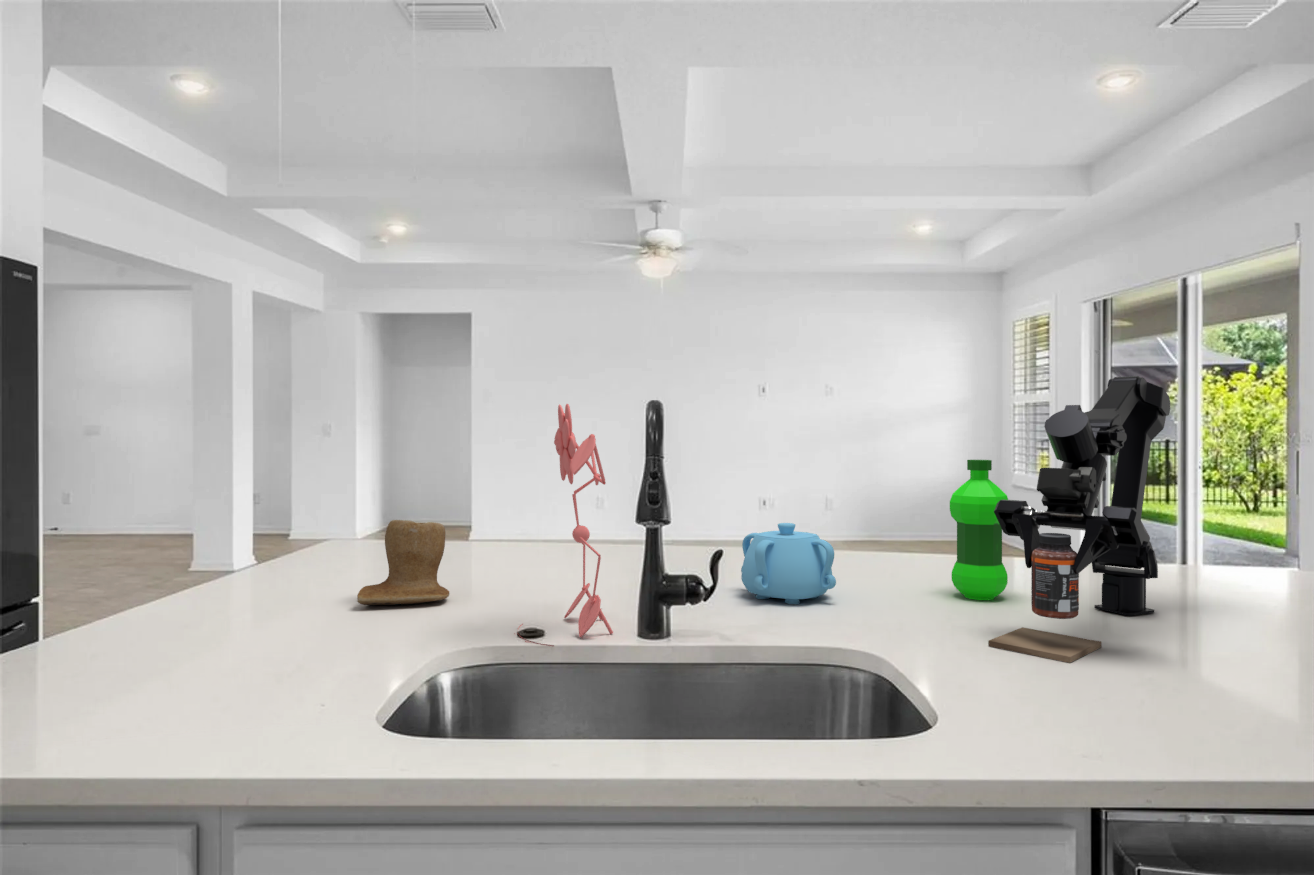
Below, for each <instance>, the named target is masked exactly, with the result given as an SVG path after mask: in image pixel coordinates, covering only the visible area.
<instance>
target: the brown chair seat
mask: <svg viewBox="0 0 1314 875" xmlns="http://www.w3.org/2000/svg"><path fill="white" fill-rule="evenodd" d="M445 546H446V528H445V526H444V524H442V523H439V522H433V521H428V522H417V521H412V520H408V519H407V520H406V519H405V520H404V519H392V520H390V521H389V523H388V525H387V527H386V529H385V534H384V548H385V554H386V558H387V565H388V576H387V578H386V579H385V580H384V581H382V582H380V583H376V584H371V585H365V586H362V588H361V589H360V590H359V591H358V593H357V598H356V599H357V600H356V602H357V603H358V604H359V605H363V606H396V605H395V604H401V605H413V604H414V605H415V604H423V603H430V602H435V601H442V600H445V599H447V598H448V597H449V596H450V594H451V593H450V591H449V590H448V589H447V588H446V587H443V586H442V585H441V584H440V583H439V582H438V571H439V567H440V564H441V561H442V559H443V556H444V552H445Z"/></svg>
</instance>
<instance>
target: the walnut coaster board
mask: <svg viewBox="0 0 1314 875" xmlns="http://www.w3.org/2000/svg"><path fill="white" fill-rule="evenodd" d="M987 642H988V645H987V646H988V647H989V648H995V649H1000V650H1006V651H1010V652H1015V653H1021V654H1025V655H1030V656H1033V657H1039V658H1043V659H1044V658H1045V659H1048V660H1053V661H1054V660H1055V661H1059V662H1064V663H1068V664H1071V663H1073V662H1075V661H1077V660H1080V658H1083V657H1085V656H1086V655H1089V654H1091V653H1093V652H1095V651H1097V650H1099V649H1101V648H1102V641H1100V640H1095V639H1089V638H1085V637H1084V638H1083V637H1078V636H1074V635H1073V636H1072V635H1065V634H1060V633H1055V632H1049V631H1045V630H1038V629H1033V628H1028V627H1023V626H1022V627H1020V628H1017V629H1015V630H1012V631H1009V632H1007V633H1005V634H1002V635H999V636H997V637H994V638H991V639H988V640H987Z"/></svg>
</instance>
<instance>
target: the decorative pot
mask: <svg viewBox="0 0 1314 875" xmlns="http://www.w3.org/2000/svg"><path fill="white" fill-rule="evenodd" d="M777 528H778V530H770V531H764V532H763V531H762V532H751V533H749V534H747V535H746V536H744V538H743V540H742V545H741V547H742V552H743V556H744V558H743V562H742V566H741V570H740V572H741V576H740V577H741V582H742V583H743V586H744V587H745V589H746V590H747V591H748V593H750V594H752V595H753V594H754V595H755V596H754V598H756V599H758V600H768V599H770V598H776V599H784V603H785V604H787V605H799V604H801V601H800V600H805V599H817V598H819V597H820V596H822V595H824V594H826V593H827V592H828V591H829V590H831V589H834V588H835V586H836V585H837V580H836V578H835V576H834V575H833V570H832V567H833V564H834V561H835V550H834V546H832V544H831V543H830V542H828V541H826V540H824V539H822V538H820V536H819V535H818V534H817V533H812V532H807V531H796V530H795V528H796V524H795V523H793V522H792V523H791V522H781V523H777Z"/></svg>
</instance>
